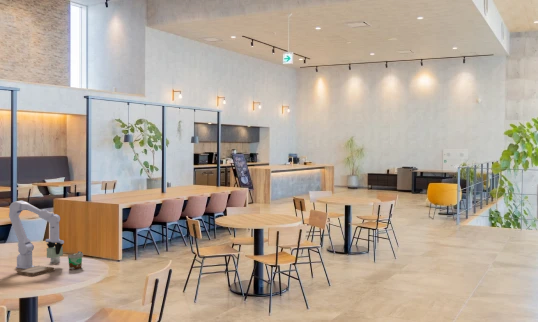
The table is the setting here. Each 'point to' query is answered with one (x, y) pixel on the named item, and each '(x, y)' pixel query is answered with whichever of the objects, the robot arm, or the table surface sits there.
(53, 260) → the white rounded canister
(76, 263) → the food container
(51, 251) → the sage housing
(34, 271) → the walnut stand
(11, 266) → the table surface
